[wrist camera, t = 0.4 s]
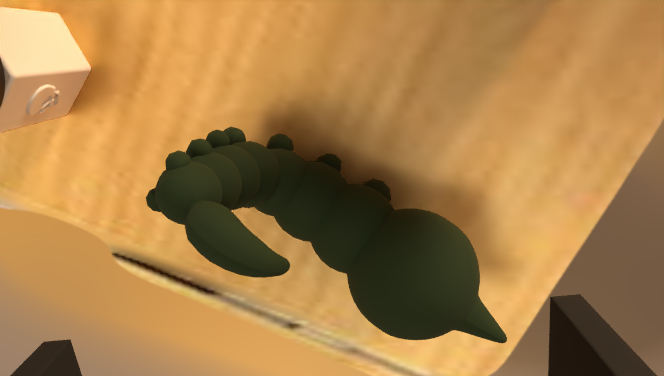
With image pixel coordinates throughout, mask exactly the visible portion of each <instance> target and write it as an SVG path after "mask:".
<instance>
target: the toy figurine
mask: <svg viewBox="0 0 664 376" xmlns="http://www.w3.org/2000/svg"><path fill="white" fill-rule="evenodd" d="M292 151H293V144H292V140H291V139H289V138H288V137H287V136H286V135H283V134H276V135H274V136H272V137H271V138H270V140H269V142H268V144H267V148H266V147H264V146H262V145H260V144H258V143H256V142H251V141H247V142H246V138H245V135H244V133H243V131H242V130H240V129H237V128H234V127H229V128H227V129H225V130H224V131H220V130H215V131H212V132H210V133H209V134H208V136H207V138H206V140H204V139H196V140H192V141H191V143H190V144H189V146H188V148H187V151H186V153H185V152H182V151H176V152H173V153H171V154H169V155H168V157H167V159H166V170H165V171H164V172H163V173H162V175H161V176H160V177H159V180H158V182H157V185H156V188H154V189H152V190H150V191H149V193H148V195H147V197H146V201H147V205H148V206H149V207H150V208H151V209H152V210H153V211H158V212H162V214H164V215H165V216H166V217H167V218H168V219H170V220H172V221H174V222H176V223H178V224H183V225H185V229H186V234H187V238H188V240H189V241H190V243H191V244H192V245H193V246H194V247H195V248H196V250H197V251H198V252H199V253H200V254H201V255H203V256H204V257H205V258H206V259H208V260H209V261H210V262H212V263H214V264H216V265H218V266H219V267H221V268H223V269H225V270H228V271H231V272H234V273H236V274H239V275H244V276H250V277H274V276H280V275H283V274H285V273H286V272H287V271H288V270H289V267H290V263H289V261H288V260H287V259H285V258H284V257H282V256H280V255H279V254H277V253H275V252H274V251H273V250H271V249H270V248H269V247H268V246H267V245H266V244H264V243H263V242H262V241H261V240H260V239H259V238H258V237H256V236H255V235H254V234H253V233H251V232H250V231H249V230H248V229H247V228H246V227H245V226H244V225H243V224H242V223H241V221H240V220H239V219H238V218H237V217H236V216H235V215H234V214H233V213H232V212H231V211H230V210H235V209H238V208H242V207H245V208H251V207H255V208H256V209H257V210H258V211H260V212H263V213H265V214H267V215H271V216H274V217H275V219H276V221H277V223H278V224H279V225H280V226H281V228H282V229H283V230H284V231H286V232H287V233H288V234H290V235H291V236H292V237H294V238H297V239H300V240H303V241H309V242H311V244H312V246H313V248H314V250H315V252H316V254H317V255H318V256H319V258H320V259H321V260H322V261H323V262H324V263H325V264H327V265H328V266H329V267H331V268H333V269H335V270H337V271H339V272H343V273H347V277H348V284H349V288H350V292H351V295H352V297H353V300H354V302H355V304H356V305H357V307H358V309H359V310H360V312H361V313H362V314H363V315H364V316H365V317H366V319H367V320H368V321H370V322H371V323H372V324H373V325H375V326H376V327H377V328H379V329H380V330H381V331H383V332H385V333H387V334H388V335H390V336H394V337H397V338H401V339H408V340H426V339H432V338H436V337H439V336H441V335H444V334H446V333H448V332H450V331H452V330H457V331H461V332H465V333H468V334H471V335H474V336H478V337H481V338H484V339H487V340H491V341H494V342H498V343H505V342H506V341H507V337H506V335H505V333H504V332H503V330H502V329H501V328H500V326H499V325H498V323H497V322H496V321H495V319H494V318H493V317H492V315H491V314H490V313H489V311H488V310H487V308H486V307H485V306H484V304H483V303H482V302H481V300H480V298H479V296H478V291H479V283H480V273H479V265H478V260H477V257H476V253H475V251H474V248H473V246H472V245H471V243H470V241H469V239H468V238H467V236H466V235H465V234H464V233H463V232H462V231H461V230H460V229H459V228H458V227H456V226H455V225H454V224H453V223H451V222H450V221H448V220H447V219H445V218H443V217H441V216H439V215H438V214H435V213H432V212H430V211H426V210H422V209H399V210H394V208H393V206H392V205H391V204H390V200H391V194H390V189H389V188H388V186H387V185H386V184H385V183H384V182H383V181H379V180H375V179H372V180H369V181H367V182H364V183H363V185H359V184H348V183H347V181H346V180H345V178H344V177H343V176H342V175H341V174H340V173H339V172H340V171H341V161H340V160H339V158H338V157H337V156H336V155H333V154H325V155H323V156H321V157H319V159H318V161H317V162H315V161H309V162H305V161H304V160H303V159H302V158H301V157H300V156H298V155H297V154H296V153H294V152H292Z"/></svg>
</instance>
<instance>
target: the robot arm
mask: <svg viewBox="0 0 664 376" xmlns="http://www.w3.org/2000/svg"><path fill="white" fill-rule="evenodd" d="M11 376H82V375H81V371H80V368H79V365H78V362H77V359H76V356H75V353H74V350H73V346H72V343H71V340H61V341H49V342H43V343H42V344H41V345H40V346H39V347H38V348H37V349H36V350H35V351H34V352H33V353H32V355H30V357H28V358H27V359H26V360H25V361H24V362H23V364H22V365H20V366H19V368H17V370H16V371H15V372H14V373H13V374H12V375H11ZM548 376H657V375H656V374H655V373H654V372H653V371H652V370H651V369H650V368H649V367H648V366H647V365H646V364H645V363H644V361H642V359H641V358H640V357H639V356H638V355H637V354H636V353H635V352H634V351H633V350H632V349H631V348H630V347H629V346H628V345H627V344H626V342H624V340H623V339H622V338H621V337H620V336H619V335H618V334H617V333H616V332H615V331H614V330H613V329H612V328H611V327H610V326H609V324H608V323H607V322H606V321H605V320H604V319H603V318H602V317H601V316H600V315H599V314H598V313H597V312H596V311H595V310H594V309H593V308H592V307H591V305H590V304H588V302H587V301H586V300H585V299H584V298H583V297H582V296H581V295H568V296H556V297H550V334H549V371H548Z"/></svg>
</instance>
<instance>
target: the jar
mask: <svg viewBox="0 0 664 376" xmlns="http://www.w3.org/2000/svg"><path fill="white" fill-rule="evenodd" d="M90 71H91V66H90V65H89V63H88V61H87V60H86V58H85V56H84V55H83V53H82V51H81V50H80V48H79V46H78V45H77V43H76V41H75V40H74V38H73V36H72V35H71V33H70V31H69V30H68V28H67V26H66V24H65V23H64V21H63V19H62V18H61V16H60V15H59V14H58V13H53V12H44V11H35V10H25V9H16V8H7V7H0V133H2V132H6V131H10V130H14V129H17V128H21V127H25V126H29V125H33V124H36V123H40V122H44V121H48V120H52V119H55V118H59V117H63V116H66V115H68V113H69V111H70V109H71V107H72V105H73V103H74V101H75V100H76V98H77V96H78V94H79V92H80V90H81V88H82V86H83V84H84V82H85V81H86V79H87V77H88V75H89V73H90Z"/></svg>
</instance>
